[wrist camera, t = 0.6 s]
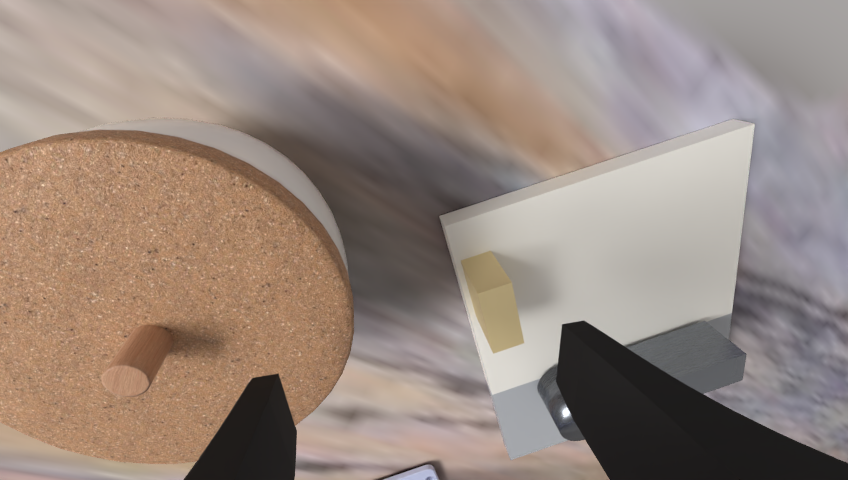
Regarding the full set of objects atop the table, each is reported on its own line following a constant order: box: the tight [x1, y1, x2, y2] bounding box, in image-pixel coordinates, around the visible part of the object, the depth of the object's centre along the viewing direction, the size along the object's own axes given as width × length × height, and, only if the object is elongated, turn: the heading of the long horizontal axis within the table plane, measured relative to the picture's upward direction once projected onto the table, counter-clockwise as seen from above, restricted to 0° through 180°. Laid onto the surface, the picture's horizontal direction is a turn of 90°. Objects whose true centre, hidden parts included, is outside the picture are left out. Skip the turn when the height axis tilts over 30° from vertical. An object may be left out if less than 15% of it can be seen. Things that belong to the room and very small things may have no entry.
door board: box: [439, 119, 755, 460], centre depth 22 cm, size 18×15×4 cm
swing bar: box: [537, 321, 746, 441], centre depth 23 cm, size 10×3×3 cm, turn 106°
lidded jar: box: [0, 118, 354, 464], centre depth 14 cm, size 11×11×9 cm
